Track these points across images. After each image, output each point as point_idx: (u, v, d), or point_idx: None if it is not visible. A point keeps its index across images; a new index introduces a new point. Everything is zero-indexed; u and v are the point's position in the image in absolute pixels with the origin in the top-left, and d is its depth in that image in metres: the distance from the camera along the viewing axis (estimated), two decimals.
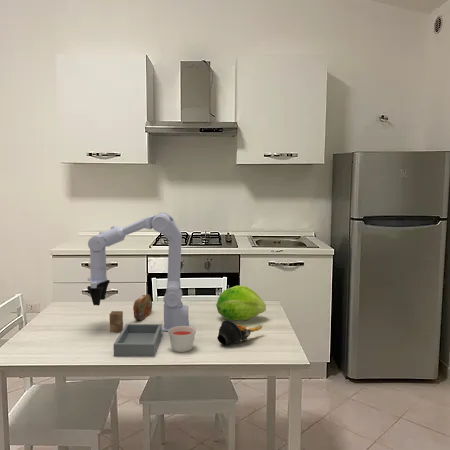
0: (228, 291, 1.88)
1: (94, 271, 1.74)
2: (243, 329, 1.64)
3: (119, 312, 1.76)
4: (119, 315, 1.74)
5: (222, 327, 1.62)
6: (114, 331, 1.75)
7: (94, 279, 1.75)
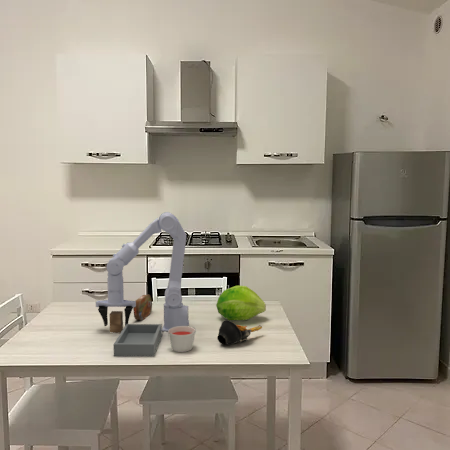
0: (228, 291, 1.88)
1: None
2: (243, 329, 1.64)
3: (119, 312, 1.76)
4: (119, 315, 1.74)
5: (222, 327, 1.62)
6: (114, 331, 1.75)
7: None
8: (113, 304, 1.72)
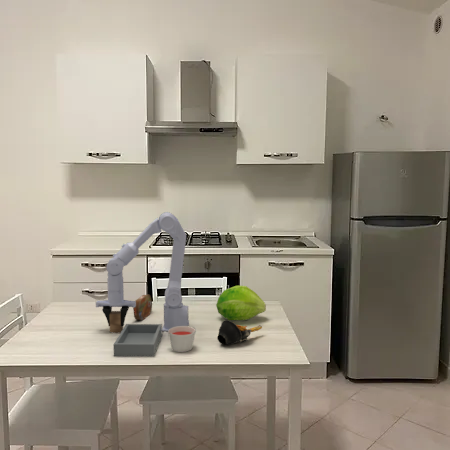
0: (228, 291, 1.88)
1: None
2: (243, 329, 1.64)
3: (119, 312, 1.76)
4: (119, 315, 1.74)
5: (222, 327, 1.62)
6: (114, 331, 1.75)
7: None
8: (113, 304, 1.72)
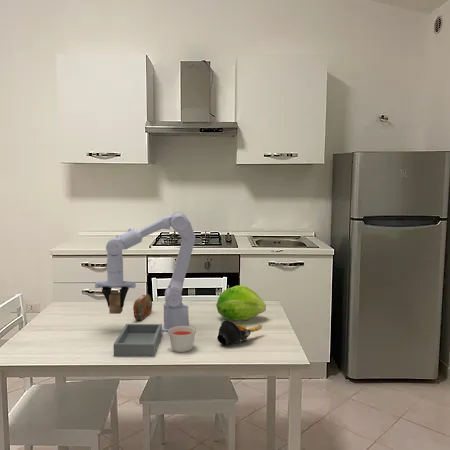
0: (228, 291, 1.88)
1: None
2: (243, 329, 1.64)
3: (119, 293, 1.75)
4: (119, 296, 1.73)
5: (222, 327, 1.62)
6: (114, 312, 1.74)
7: None
8: (113, 285, 1.72)
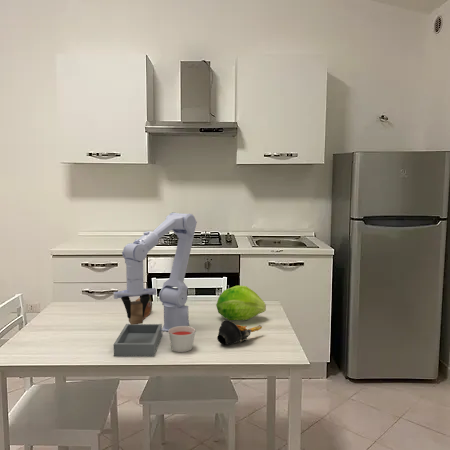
0: (228, 291, 1.88)
1: None
2: (243, 329, 1.64)
3: (138, 302, 1.64)
4: (141, 304, 1.62)
5: (222, 327, 1.62)
6: (136, 322, 1.62)
7: (126, 290, 1.62)
8: (136, 293, 1.60)
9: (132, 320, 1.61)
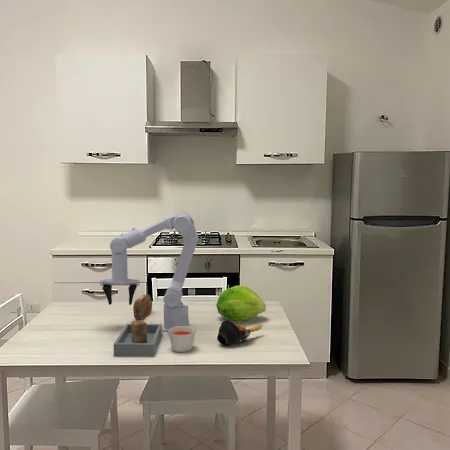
0: (228, 291, 1.88)
1: None
2: (243, 329, 1.64)
3: (141, 321, 1.63)
4: (145, 324, 1.61)
5: (222, 327, 1.62)
6: (140, 342, 1.61)
7: None
8: (117, 282, 1.75)
9: (136, 340, 1.60)
